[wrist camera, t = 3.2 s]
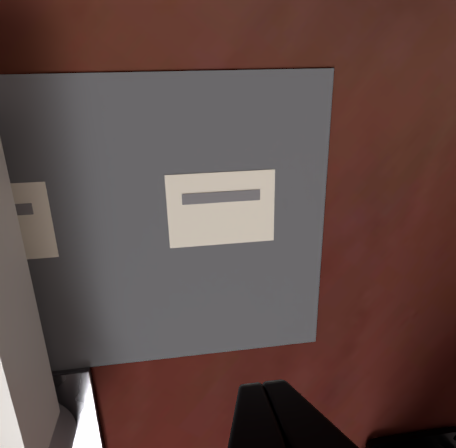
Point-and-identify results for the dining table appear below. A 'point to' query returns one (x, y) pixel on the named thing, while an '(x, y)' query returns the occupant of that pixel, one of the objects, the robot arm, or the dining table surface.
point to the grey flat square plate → (80, 405)
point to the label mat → (169, 208)
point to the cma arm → (24, 347)
